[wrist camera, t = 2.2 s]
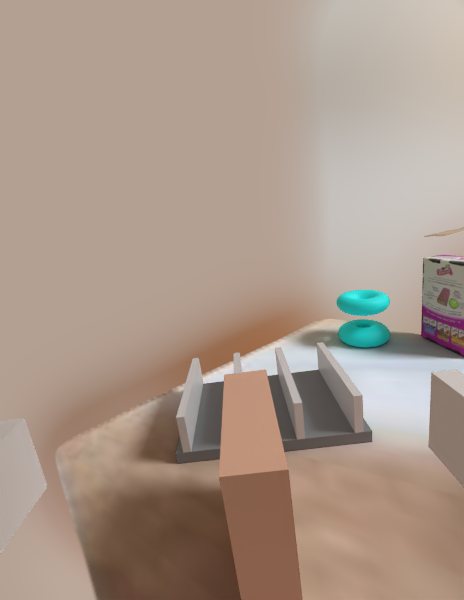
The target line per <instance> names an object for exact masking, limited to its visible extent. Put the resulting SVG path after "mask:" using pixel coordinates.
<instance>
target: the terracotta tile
mask: <svg viewBox="0 0 464 600" xmlns="http://www.w3.org/2000/svg"><path fill="white" fill-rule="evenodd" d="M219 480H220V485H221V491H222V496H223V502H224V508H225V513H226V519H227V524H228V530H229V535H230V541H231V547H232V552H233V558H234V563H235V569H236V574H237V580H238V586H239V591H240V597H241V600H302V591H301V582H300V572H299V563H298V554H297V545H296V536H295V526H294V517H293V508H292V499H291V489H290V480H289V471H288V466H287V461H286V457H285V452H284V448H283V444H282V439H281V435H280V430H279V426H278V421H277V417H276V412H275V408H274V404H273V399H272V395H271V390H270V386H269V381H268V377H267V373H266V370H259V371H251V372H243V373H235V374H227V375H224V391H223V410H222V429H221V449H220V468H219Z"/></svg>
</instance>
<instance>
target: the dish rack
mask: <svg viewBox="0 0 464 600" xmlns="http://www.w3.org/2000/svg"><path fill="white" fill-rule="evenodd" d="M275 353H276V362H277V371H278V375H272V376H267V377H268V381H269V386H270V390H271V395H272V399H273V404H274V408H275V412H276V417H277V421H278V426H279V430H280V435H281V439H282V444H283V448H284V452H285V451H293V450H302V449H311V448H320V447H329V446H337V445H346V444H355V443H364V442H372V430H371V429H370V427H369V426H368V424H367V423H366V421H365V420H364V418H363V400H362V394H361V393H360V392H359V390H358V389H357V388H356V386H355V385H354V384H353V382H352V381H351V379H350V378H349V377H348V375H347V374H346V373H345V371H344V370H343V369H342V367H341V366H340V365H339V363H338V362H337V361H336V359H335V358H334V357H333V355H332V354H331V353H330V351H329V350H328V349H327V347H326V346H325V345H324V343H323V342H320V343H317V354H318V368H319V370H313V371H305V372H297V373H291V372H290V370H289V367H288V364H287V362H286V359H285V357H284V354H283V351H282V349H281V347H280V348H275ZM235 373H242V366H241V359H240V353H234V374H235ZM223 391H224V381H223V382H215V383H207V384H203V379H202V374H201V368H200V363H199V358H193V360H192V363H191V367H190V370H189V374H188V377H187V380H186V384H185V387H184V391H183V394H182V398H181V401H180V405H179V408H178V412H177V415H176V421H177V425H178V430H179V435H180V436H179V440H178V444H177V448H176V453H175V455H176V459H177V464H179V463H188V462H197V461H205V460H214V459H220V449H221V429H222V410H223Z"/></svg>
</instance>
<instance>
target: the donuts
mask: <svg viewBox="0 0 464 600" xmlns="http://www.w3.org/2000/svg"><path fill="white" fill-rule="evenodd" d="M389 303H390V300H389V297H388V296H387V295H386V294H384V293H382V292H379V291H373V290H355V291H350V292H346V293H344V294H341V295H340V296H339V297H338V299H337V306H338V307H339V309H340V310H342V311H343V312H345V313H348V314H351V315H358V316H359V315H360V316H367V315H374V314H378V313H380V312H382V311H384V310H385V309H386V308H387V307H388V306H389ZM338 335H339V338H340V339H341V340H342V341H343V342H344V343H346V344H348V345H351V346H355V347H364V348H367V347H376V346H380V345H382V344H384V343H385V342H387V341H388V339H389V337H390V332H389V330H388V328H387V327H386V326H385V325H383V324H382V323H380V322H377V321H373V320H353V321H349V322H347V323H345V324H343V325H342V326H341V327H340V329H339V331H338Z"/></svg>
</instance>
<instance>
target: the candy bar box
mask: <svg viewBox="0 0 464 600" xmlns="http://www.w3.org/2000/svg"><path fill="white" fill-rule="evenodd" d="M421 333H422V334H421V336H422V337H423V338H426V339H428V340H430V341H432V342H434V343H436V344H439V345H441V346H443V347H445V348H447V349H449V350H452V351H454V352H456V353H458V354H460V355H463V356H464V257H462V256H451V255H440V256H433V257H427V258H423V290H422V332H421Z"/></svg>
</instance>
